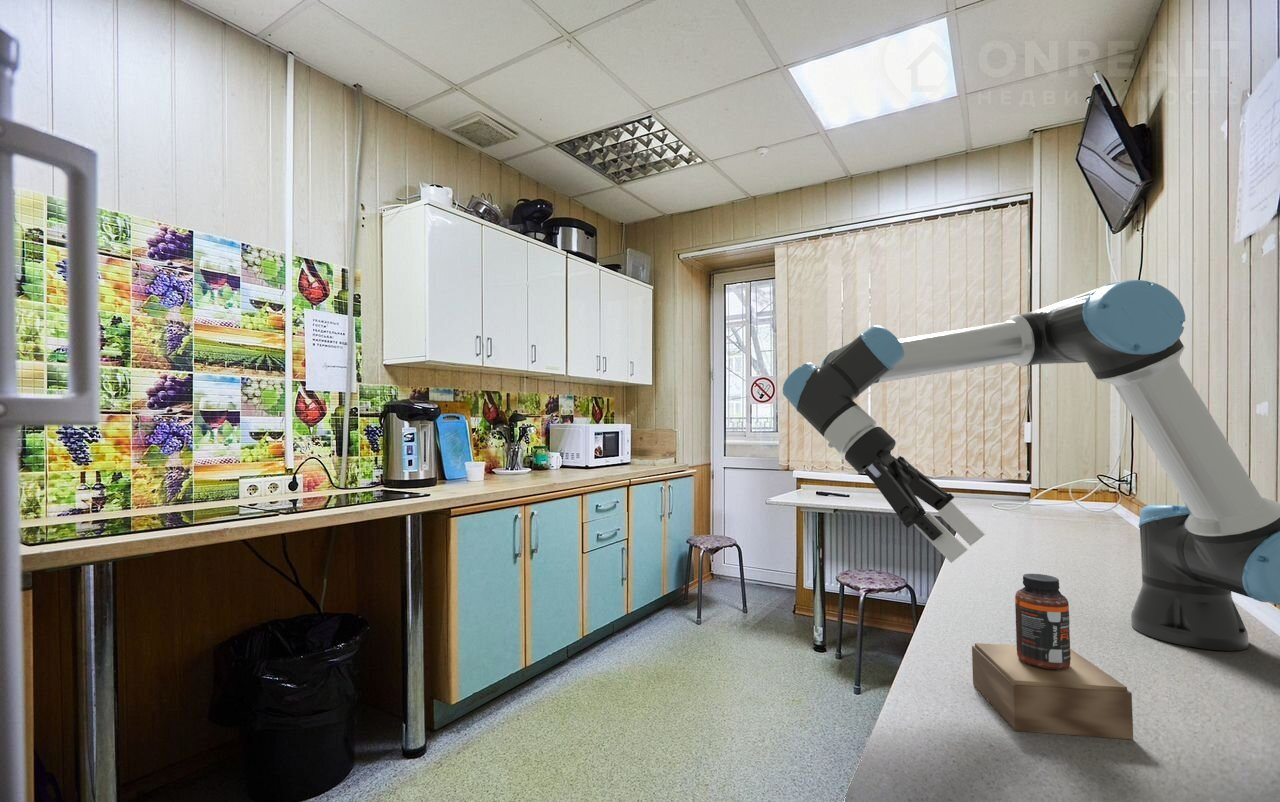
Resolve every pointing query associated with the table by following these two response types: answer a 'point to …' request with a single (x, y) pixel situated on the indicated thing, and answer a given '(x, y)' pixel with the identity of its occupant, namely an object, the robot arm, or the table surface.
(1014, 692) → the block
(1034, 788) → the table surface
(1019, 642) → the supplement bottle
